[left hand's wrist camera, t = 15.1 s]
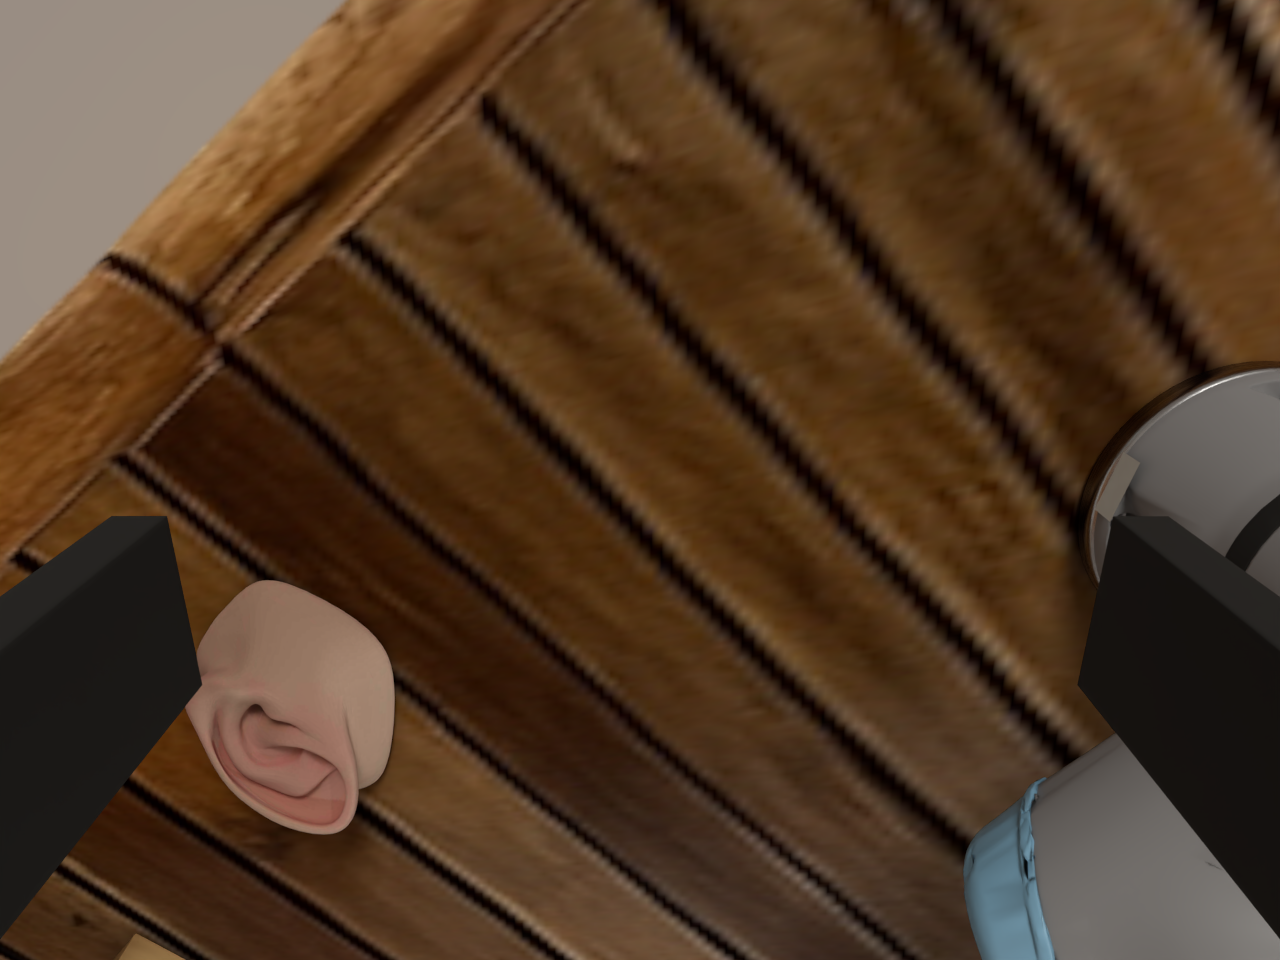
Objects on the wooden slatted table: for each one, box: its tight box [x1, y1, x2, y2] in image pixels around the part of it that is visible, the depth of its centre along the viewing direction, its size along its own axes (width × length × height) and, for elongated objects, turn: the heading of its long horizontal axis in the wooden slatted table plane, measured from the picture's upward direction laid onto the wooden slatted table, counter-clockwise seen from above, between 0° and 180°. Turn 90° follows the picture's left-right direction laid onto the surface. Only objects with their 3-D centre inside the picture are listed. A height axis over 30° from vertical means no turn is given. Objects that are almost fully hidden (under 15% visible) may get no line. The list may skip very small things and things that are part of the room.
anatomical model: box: [185, 580, 395, 834], centre depth 48 cm, size 13×4×12 cm
